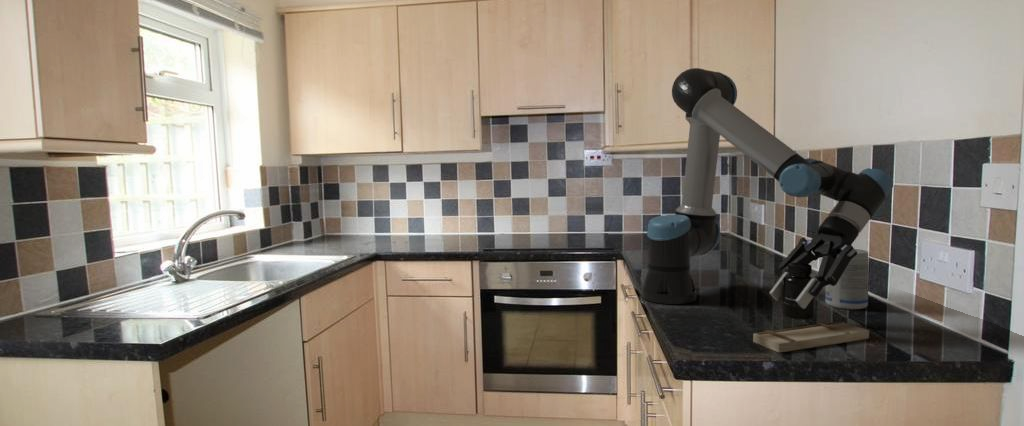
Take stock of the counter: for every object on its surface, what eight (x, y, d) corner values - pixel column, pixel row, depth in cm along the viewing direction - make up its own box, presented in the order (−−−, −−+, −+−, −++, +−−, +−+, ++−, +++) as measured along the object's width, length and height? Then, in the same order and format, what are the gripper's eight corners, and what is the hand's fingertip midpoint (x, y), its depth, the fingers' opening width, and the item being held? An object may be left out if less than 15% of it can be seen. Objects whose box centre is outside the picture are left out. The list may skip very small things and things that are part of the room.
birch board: (753, 341, 111) (753, 332, 111) (839, 329, 118) (839, 320, 118) (778, 352, 104) (779, 342, 104) (868, 338, 111) (869, 329, 111)
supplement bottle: (783, 319, 117) (784, 266, 116) (779, 311, 124) (780, 261, 123) (818, 321, 115) (819, 268, 114) (812, 312, 122) (813, 262, 120)
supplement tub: (874, 306, 136) (876, 250, 135) (857, 312, 131) (859, 254, 129) (834, 299, 144) (836, 246, 143) (817, 304, 139) (819, 250, 138)
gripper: (892, 241, 113) (833, 322, 110) (815, 231, 132) (762, 300, 128) (875, 218, 111) (814, 300, 108) (799, 211, 130) (745, 281, 126)
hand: (786, 300), depth 118 cm, fingers closed on supplement bottle, 7 cm apart
